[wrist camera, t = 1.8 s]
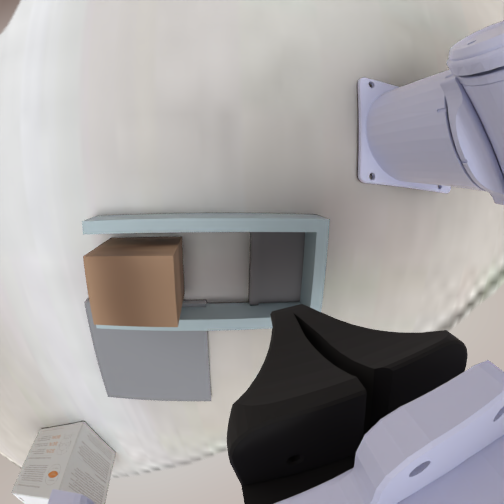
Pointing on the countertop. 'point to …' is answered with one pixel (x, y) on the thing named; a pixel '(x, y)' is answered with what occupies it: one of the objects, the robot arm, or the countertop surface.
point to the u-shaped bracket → (261, 263)
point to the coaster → (153, 362)
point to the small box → (65, 465)
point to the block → (136, 281)
